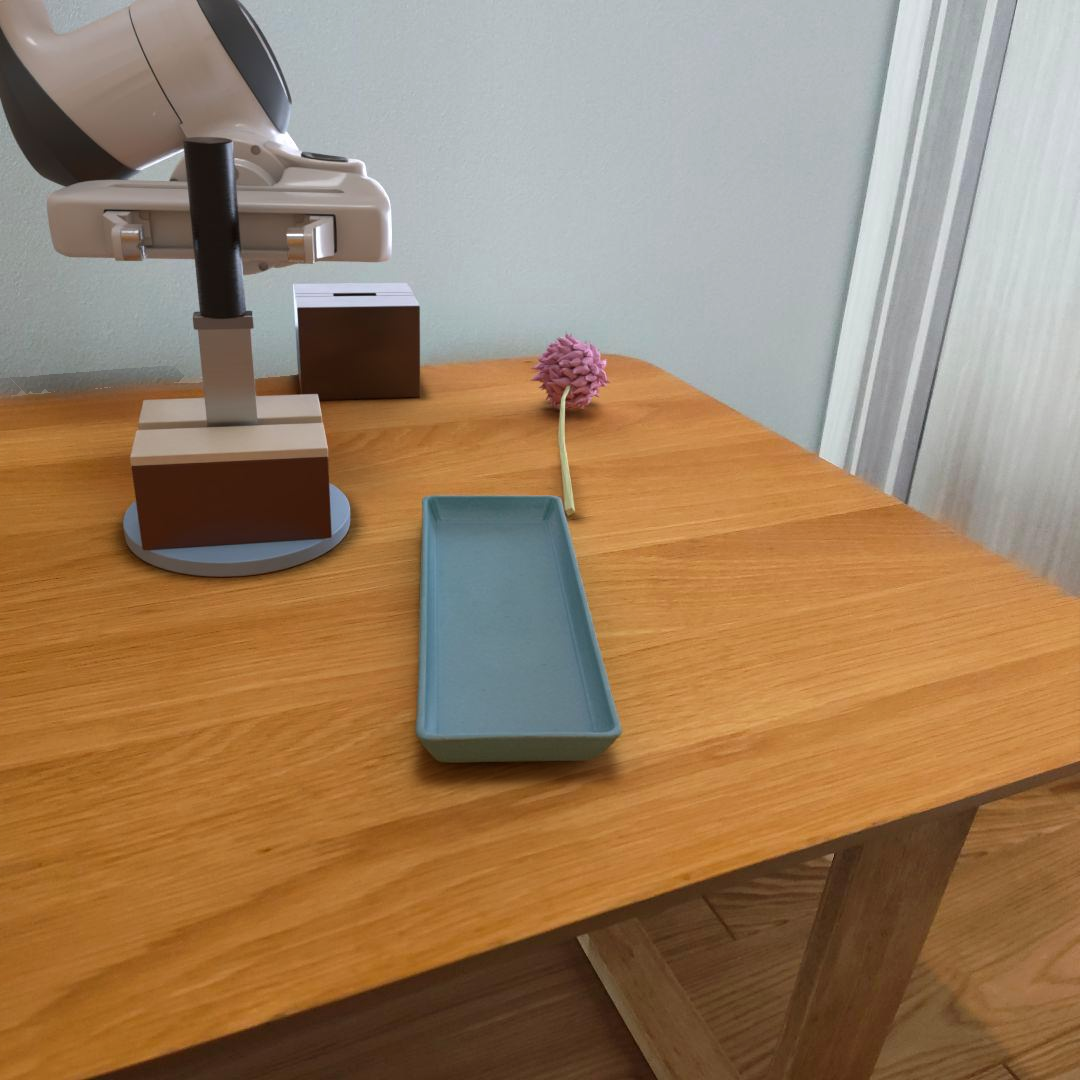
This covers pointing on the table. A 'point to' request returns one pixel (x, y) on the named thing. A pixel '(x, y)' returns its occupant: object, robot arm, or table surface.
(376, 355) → the knife block
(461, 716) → the teal serving tray
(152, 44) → the robot arm
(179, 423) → the cake
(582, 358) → the artificial flower
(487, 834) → the table surface
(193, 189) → the knife
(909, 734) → the table surface
